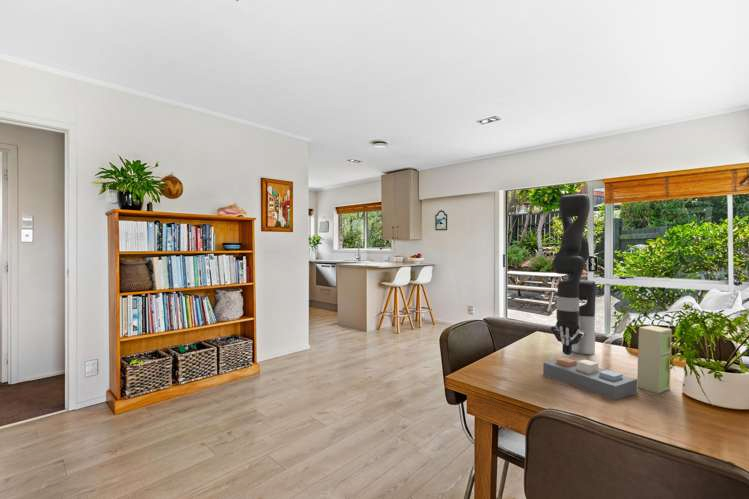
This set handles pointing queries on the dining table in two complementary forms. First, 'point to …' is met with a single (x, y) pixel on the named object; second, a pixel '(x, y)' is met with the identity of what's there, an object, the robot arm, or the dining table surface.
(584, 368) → the ivory key
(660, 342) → the toy refrigerator
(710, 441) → the dining table surface
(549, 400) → the dining table surface
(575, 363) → the terracotta key
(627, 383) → the console
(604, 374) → the blue key
